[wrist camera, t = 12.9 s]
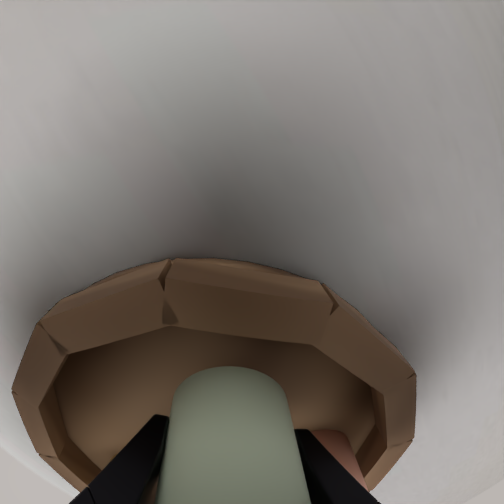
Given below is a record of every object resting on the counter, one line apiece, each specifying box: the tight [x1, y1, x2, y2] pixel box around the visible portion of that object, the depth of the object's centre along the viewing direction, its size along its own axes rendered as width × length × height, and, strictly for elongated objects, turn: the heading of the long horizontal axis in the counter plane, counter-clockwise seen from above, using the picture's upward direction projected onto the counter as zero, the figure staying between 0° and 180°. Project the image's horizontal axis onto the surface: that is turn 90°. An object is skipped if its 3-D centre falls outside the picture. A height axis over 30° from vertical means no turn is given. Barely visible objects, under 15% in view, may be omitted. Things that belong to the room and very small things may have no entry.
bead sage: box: [155, 366, 311, 504], centre depth 6 cm, size 4×4×5 cm
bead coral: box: [311, 429, 369, 492], centre depth 10 cm, size 4×4×5 cm
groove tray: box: [12, 258, 416, 492], centre depth 12 cm, size 18×18×2 cm
